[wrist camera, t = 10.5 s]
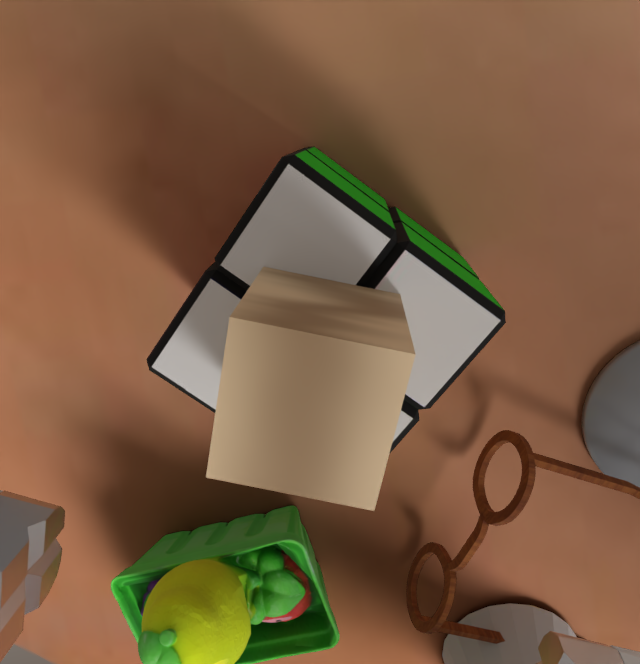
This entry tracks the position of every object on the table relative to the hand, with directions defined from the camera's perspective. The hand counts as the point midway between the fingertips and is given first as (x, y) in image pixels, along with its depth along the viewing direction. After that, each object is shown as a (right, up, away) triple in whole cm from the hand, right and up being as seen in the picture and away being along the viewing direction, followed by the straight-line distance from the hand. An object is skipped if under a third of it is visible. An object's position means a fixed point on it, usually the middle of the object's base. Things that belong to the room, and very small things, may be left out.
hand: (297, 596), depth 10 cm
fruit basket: (-5, -9, +28) cm, 30 cm away
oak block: (0, +4, +12) cm, 13 cm away
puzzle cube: (+1, +7, +22) cm, 23 cm away
